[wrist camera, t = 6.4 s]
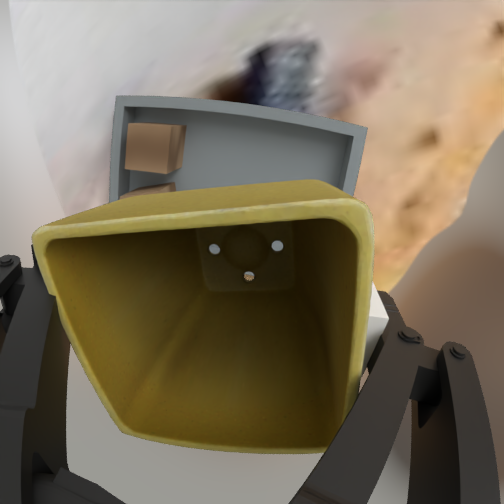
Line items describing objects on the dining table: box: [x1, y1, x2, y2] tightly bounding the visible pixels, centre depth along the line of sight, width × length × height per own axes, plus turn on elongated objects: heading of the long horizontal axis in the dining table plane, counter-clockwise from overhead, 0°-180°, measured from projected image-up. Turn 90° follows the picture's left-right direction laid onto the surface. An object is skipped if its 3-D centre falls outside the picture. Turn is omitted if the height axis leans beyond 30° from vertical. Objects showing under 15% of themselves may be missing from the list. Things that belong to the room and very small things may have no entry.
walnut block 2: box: [120, 182, 176, 200], centre depth 28 cm, size 4×4×4 cm
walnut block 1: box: [125, 122, 187, 174], centre depth 26 cm, size 4×4×4 cm
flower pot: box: [32, 179, 374, 454], centre depth 12 cm, size 9×9×9 cm
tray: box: [109, 96, 368, 276], centre depth 28 cm, size 15×22×3 cm
